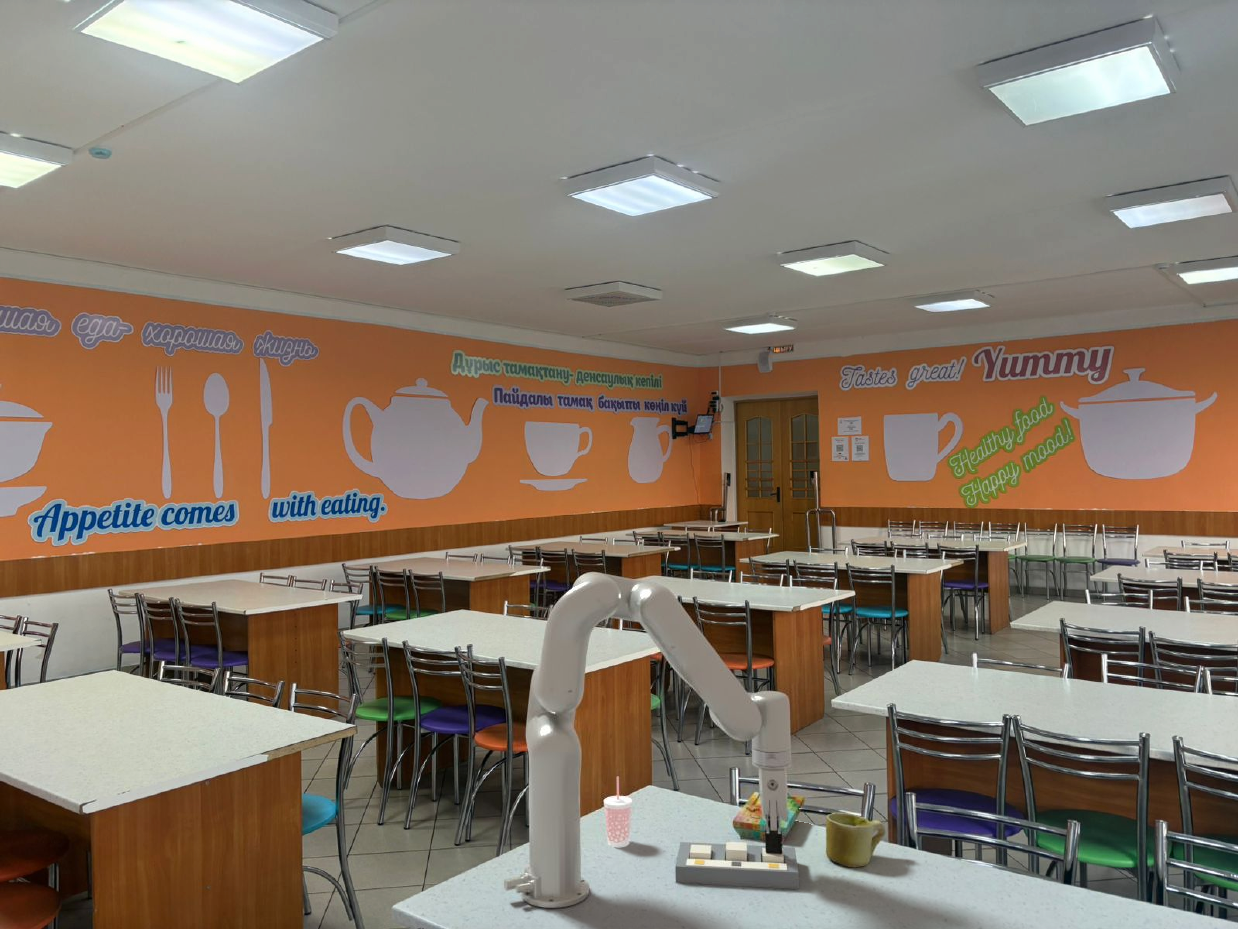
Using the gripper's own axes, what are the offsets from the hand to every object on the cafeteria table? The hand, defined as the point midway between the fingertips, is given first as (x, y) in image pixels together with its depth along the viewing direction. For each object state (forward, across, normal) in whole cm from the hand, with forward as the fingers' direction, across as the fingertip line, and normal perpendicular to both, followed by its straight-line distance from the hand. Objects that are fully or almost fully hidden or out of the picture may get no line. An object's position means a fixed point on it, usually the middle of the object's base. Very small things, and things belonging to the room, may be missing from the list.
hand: (773, 852), depth 169 cm
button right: (+3, 0, 0) cm, 3 cm away
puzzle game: (+5, +26, 0) cm, 27 cm away
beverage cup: (+4, +12, +32) cm, 35 cm away
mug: (+5, +9, -17) cm, 20 cm away
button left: (+3, 0, +14) cm, 15 cm away
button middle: (+2, 0, +7) cm, 7 cm away
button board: (+4, 0, +7) cm, 8 cm away
